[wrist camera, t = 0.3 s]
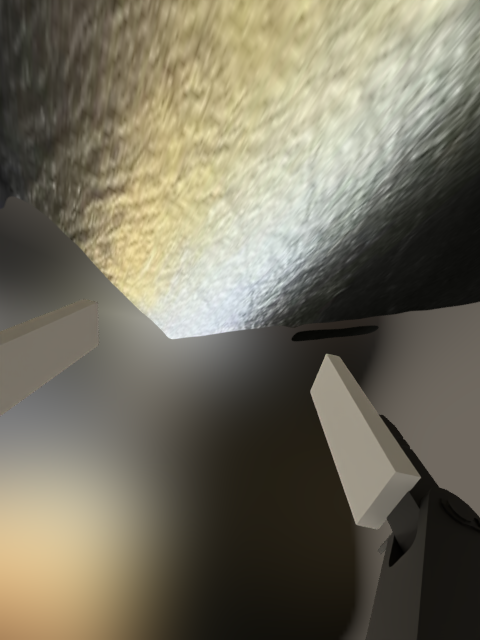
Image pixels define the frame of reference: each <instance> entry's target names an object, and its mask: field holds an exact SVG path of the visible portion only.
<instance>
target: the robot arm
mask: <svg viewBox="0 0 480 640" xmlns="http://www.w3.org/2000/svg"><path fill="white" fill-rule="evenodd" d="M98 333H99V331H98V302H95V301H90V300H86V299H83V300H80V301H77V302H75V303H72V304H70V305H67V306H65V307H62V308H60V309H57V310H55V311H52V312H49V313H47V314H44V315H42V316H39V317H36V318H34V319H31V320H29V321H26V322H24V323H21V324H19V325H16V326H13V327H11V328H8V329H6V330H3V331H1V332H0V416H1V415H2V414H4V413H5V412H6V411H8V410H9V409H11V408H12V407H13V406H15V405H16V404H18V403H19V402H20V401H22V400H23V399H25V398H26V397H27V396H29V395H30V394H31V393H33V392H34V391H36V390H37V389H38V388H40V387H41V386H42V385H44V384H45V383H47V382H48V381H50V380H51V379H52V378H54V377H55V376H56V375H58V374H59V373H60V372H62V371H63V370H65V369H66V368H67V367H69V366H70V365H72V364H73V363H74V362H76V361H77V360H79V359H80V358H81V357H83V356H84V355H85V354H87V353H88V352H90V351H91V350H92V349H94V348H95V347H97V346H98V345H99V334H98ZM310 392H311V395H312V398H313V401H314V404H315V407H316V410H317V412H318V416H319V418H320V421H321V424H322V427H323V430H324V433H325V436H326V439H327V442H328V445H329V447H330V450H331V453H332V456H333V459H334V462H335V465H336V468H337V471H338V473H339V476H340V479H341V482H342V485H343V488H344V491H345V494H346V497H347V499H348V502H349V505H350V508H351V511H352V514H353V517H354V520H355V523H356V525H360V526H364V527H369V528H374V529H379V528H380V527H381V525H382V524H383V523H384V522H385V521H386V519H387V520H388V522H389V524H390V526H391V529H392V531H393V533H392V534H391V535H390V536H389V537H388V538H387V540H386V541H385V542H384V543H383V544H382V545H381V546H380V548H379V549H378V552H379V553H380V554H382V553H383V552H384V551H385V550H386V551H385V556H384V560H383V564H382V569H381V573H380V578H379V582H378V587H377V591H376V596H375V600H374V605H373V609H372V614H371V618H370V622H369V627H368V632H367V636H366V640H480V518H479V516H478V515H477V514H476V513H475V512H474V511H473V510H472V509H471V508H470V506H469V505H468V504H466V503H465V502H464V501H462V500H461V499H460V498H459V497H457V496H456V495H454V494H453V493H451V492H449V491H447V490H445V489H442V488H439V486H438V485H437V484H436V483H435V481H434V479H433V478H432V477H431V475H430V474H429V473H428V471H427V470H426V469H425V467H424V466H423V464H422V463H421V461H420V460H419V459H418V457H417V456H416V454H415V453H414V452H413V451H412V450H411V449H410V446H409V445H408V444H407V442H406V441H405V440H404V439H403V436H402V435H401V434H400V432H399V431H398V430H397V428H396V427H395V426H394V425H393V424H392V423H391V422H390V421H389V420H388V419H387V418H386V417H385V416H383V415H379V414H378V413H377V411H376V410H375V409H374V407H373V406H372V404H371V403H370V401H369V400H368V398H367V397H366V395H365V394H364V392H363V391H362V389H361V388H360V386H359V385H358V383H357V382H356V381H355V379H354V377H353V376H352V374H351V373H350V372H349V370H348V369H347V367H346V366H345V364H344V363H343V361H342V360H341V358H340V357H339V356H335V355H330V354H326V356H325V358H324V361H323V363H322V365H321V368H320V370H319V372H318V375H317V377H316V379H315V382H314V384H313V386H312V389H311V391H310Z"/></svg>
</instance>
